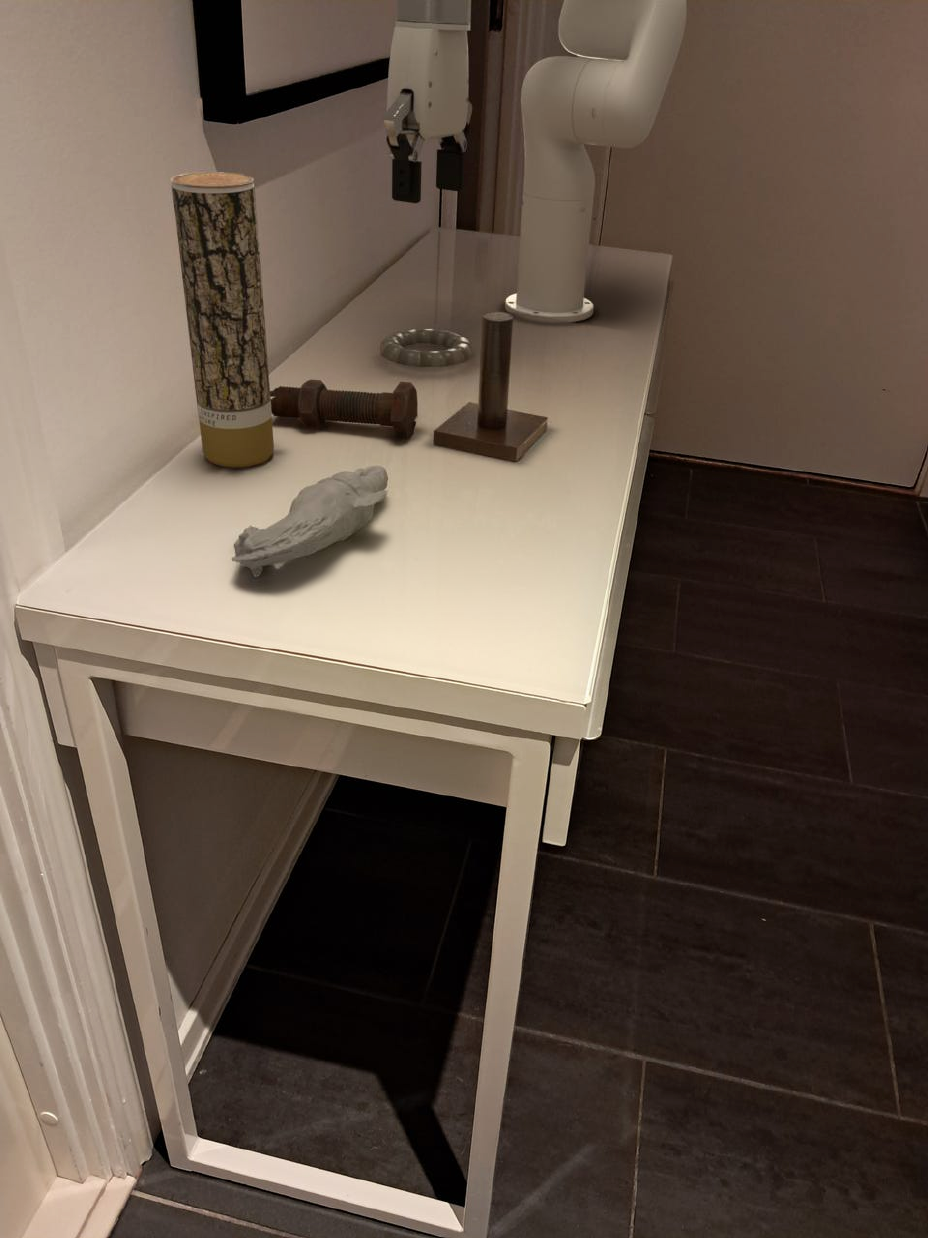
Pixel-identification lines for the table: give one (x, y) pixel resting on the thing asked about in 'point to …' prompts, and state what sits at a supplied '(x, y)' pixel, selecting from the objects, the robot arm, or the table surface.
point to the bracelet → (398, 354)
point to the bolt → (348, 406)
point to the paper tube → (225, 314)
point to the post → (492, 403)
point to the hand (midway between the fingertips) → (428, 195)
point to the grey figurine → (315, 519)
